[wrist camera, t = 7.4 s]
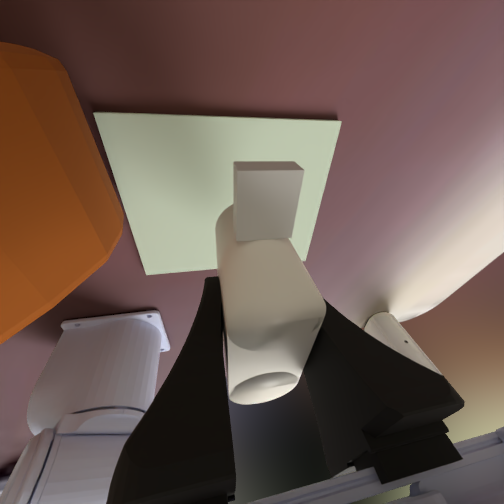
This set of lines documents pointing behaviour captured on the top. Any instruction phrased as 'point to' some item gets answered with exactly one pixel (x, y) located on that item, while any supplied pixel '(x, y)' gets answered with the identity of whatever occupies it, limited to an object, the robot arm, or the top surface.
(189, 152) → the rubber mat
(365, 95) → the top surface
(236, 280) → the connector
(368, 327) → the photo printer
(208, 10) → the top surface
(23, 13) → the top surface
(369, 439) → the robot arm
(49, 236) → the orange toaster
